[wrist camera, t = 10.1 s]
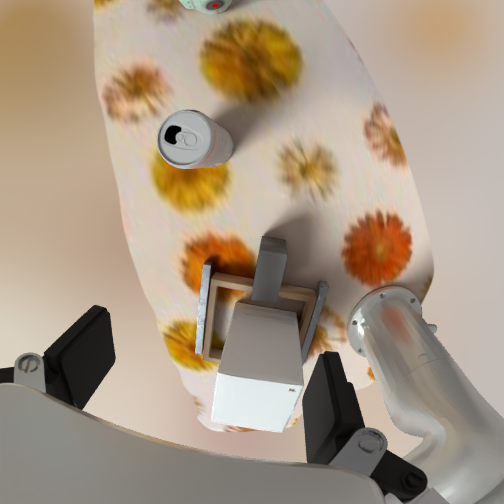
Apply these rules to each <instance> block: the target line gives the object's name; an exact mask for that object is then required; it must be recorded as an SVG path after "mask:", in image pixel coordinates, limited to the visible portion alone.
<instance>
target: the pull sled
mask: <svg viewBox="0 0 504 504" xmlns="http://www.w3.org/2000/svg"><path fill="white" fill-rule="evenodd" d="M287 256H288V254H287V248H286V242H285V240H281V239H276V238H270V237H265V236H262V239H261V244H260V250H259V255H258V261H257V266H256V271H255V277H254V279H251V278H246V277H240V276H235V275H230V274H224V273H219V272H215V273H214V275H213V277H212V279H211V287H210V295H209V304H208V313H207V323H206V332H205V342H204V353H203V360H205V361H210V362H214V363H219V364H220V360H221V356H222V352H223V350H221V349H216V348H212V340H213V331H214V323H215V315H216V307H217V299H218V291H219V286H220V287H225V288H231V289H236V290H241V291H247V292H252V295H251V300H257V301H262V302H268V303H274V304H277V300H278V297H281V298H287V299H293V300H299V301H305V304H304V307H303V311H302V314H301V318H300V321H299V325H298V331H299V340H300V349H301V347H302V344H303V341H304V338H305V335H306V332H307V329H308V325H309V322H310V319H311V316H312V312H313V309H314V305H315V302H316V299H317V297H316V293H315V290H314V289H309V288H303V287H297V286H291V285H285V284H281V283H282V278H283V274H284V269H285V265H286V260H287Z"/></svg>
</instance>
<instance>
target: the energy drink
mask: <svg viewBox="0 0 504 504" xmlns="http://www.w3.org/2000/svg"><path fill="white" fill-rule="evenodd" d="M157 147H158V150H159V153H160V154H161V156H162V157H163V158H164V160H166V161H167V162H168V163H169V164H170V165H172V166H174V167H177V168H181V169H191V168H207V167H217V166H220V165H222V164H223V163H225V162H226V161H227V160H228V159H229V158H230V156H231V154H232V151H233V140H232V137H231V135H230V133H229V132H228V131H227V130H226V129H224V128H223V127H221V126H220V125H219V124H217V123H216V122H215V121H213V120H212V119H210V118H209V117H208V116H206V115H205V114H203V113H201V112H199V111H196V110H183V111H178V112H176V113H173V114H172V115H170V116H169V117H168V118H166V119H165V120H164V122H163V123H162V124H161V126H160V128H159V130H158V134H157Z"/></svg>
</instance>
